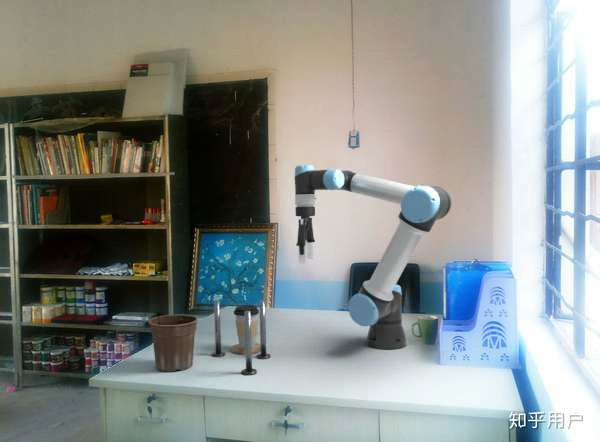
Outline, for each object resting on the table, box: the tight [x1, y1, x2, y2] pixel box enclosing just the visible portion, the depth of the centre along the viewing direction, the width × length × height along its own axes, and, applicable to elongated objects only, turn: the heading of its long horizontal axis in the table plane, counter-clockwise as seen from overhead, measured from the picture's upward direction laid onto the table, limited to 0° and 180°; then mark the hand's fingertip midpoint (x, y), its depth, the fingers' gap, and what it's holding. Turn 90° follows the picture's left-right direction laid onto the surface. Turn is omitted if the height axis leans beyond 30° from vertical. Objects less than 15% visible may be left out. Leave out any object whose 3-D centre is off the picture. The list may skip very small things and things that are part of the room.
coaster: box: [230, 342, 261, 356], centre depth 197 cm, size 12×12×1 cm
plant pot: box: [148, 314, 199, 373], centre depth 179 cm, size 16×16×16 cm
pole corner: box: [256, 300, 272, 360], centre depth 188 cm, size 5×5×20 cm
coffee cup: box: [233, 304, 260, 349], centre depth 197 cm, size 9×9×15 cm
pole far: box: [210, 299, 226, 358], centre depth 191 cm, size 5×5×20 cm
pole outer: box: [240, 311, 258, 376], centre depth 171 cm, size 5×5×20 cm
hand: (306, 261), depth 204 cm, fingers open, 13 cm apart
